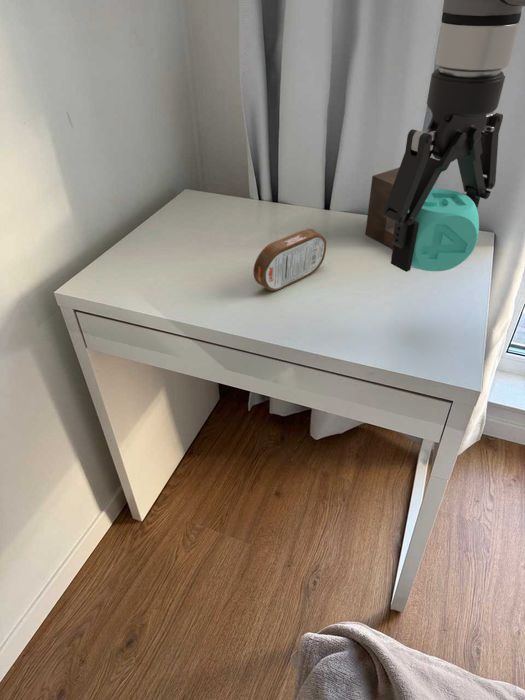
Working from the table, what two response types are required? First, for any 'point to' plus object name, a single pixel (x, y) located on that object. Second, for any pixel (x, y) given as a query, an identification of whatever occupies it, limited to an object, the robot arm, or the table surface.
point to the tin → (289, 259)
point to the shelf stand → (381, 208)
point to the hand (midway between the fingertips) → (430, 253)
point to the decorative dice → (445, 231)
